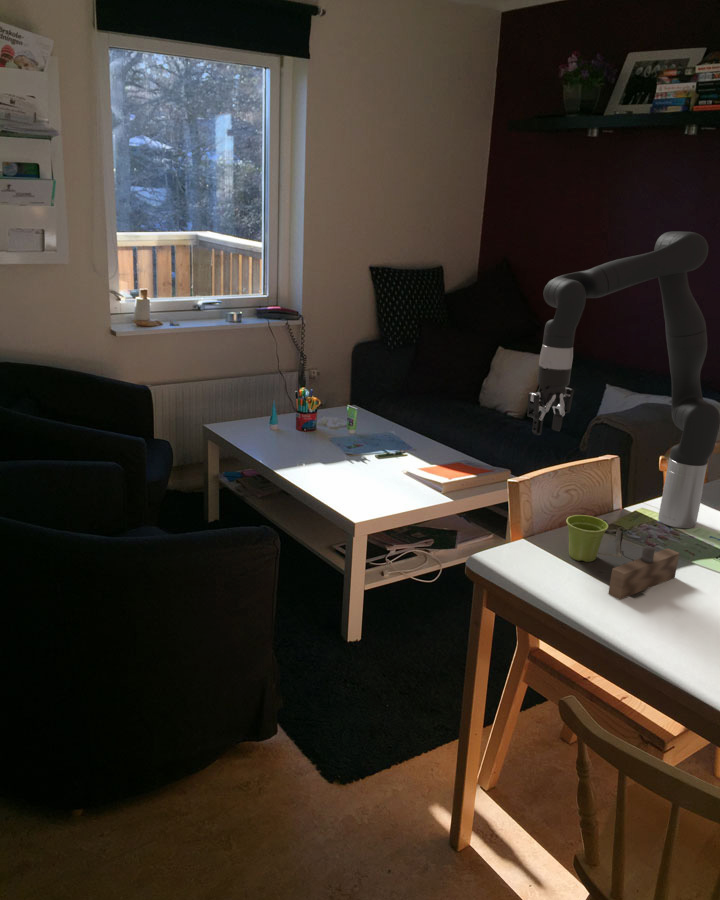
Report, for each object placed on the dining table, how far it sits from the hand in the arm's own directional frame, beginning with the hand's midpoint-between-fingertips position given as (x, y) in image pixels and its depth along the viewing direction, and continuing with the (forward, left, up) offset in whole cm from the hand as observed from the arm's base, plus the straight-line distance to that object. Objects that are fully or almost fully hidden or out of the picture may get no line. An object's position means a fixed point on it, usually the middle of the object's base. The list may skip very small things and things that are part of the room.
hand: (546, 432), depth 194 cm
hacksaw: (-12, +16, -26) cm, 33 cm away
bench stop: (+2, +33, -26) cm, 42 cm away
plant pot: (+2, +17, -26) cm, 31 cm away
